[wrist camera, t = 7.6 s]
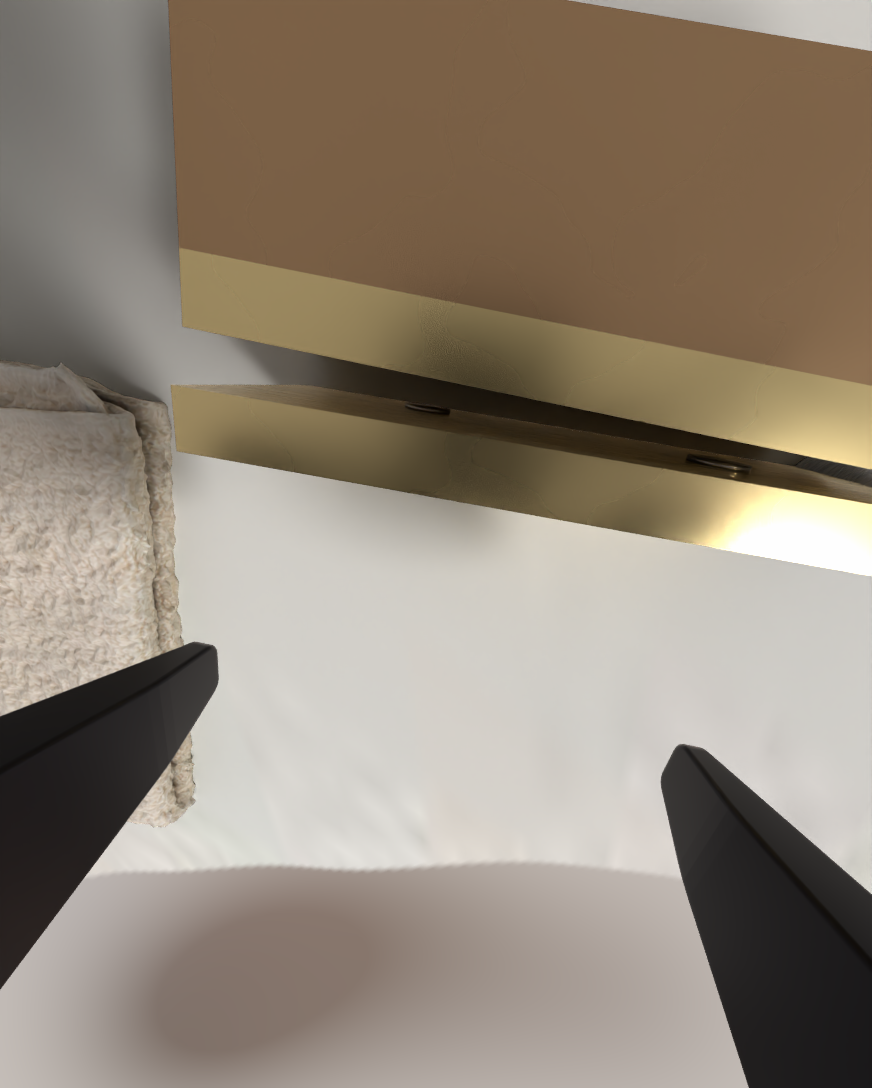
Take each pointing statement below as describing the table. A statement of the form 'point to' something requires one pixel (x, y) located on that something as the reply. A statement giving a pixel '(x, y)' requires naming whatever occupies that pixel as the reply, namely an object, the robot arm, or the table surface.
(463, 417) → the swing leaf
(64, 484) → the washcloth
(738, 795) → the robot arm
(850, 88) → the block
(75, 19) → the table surface
